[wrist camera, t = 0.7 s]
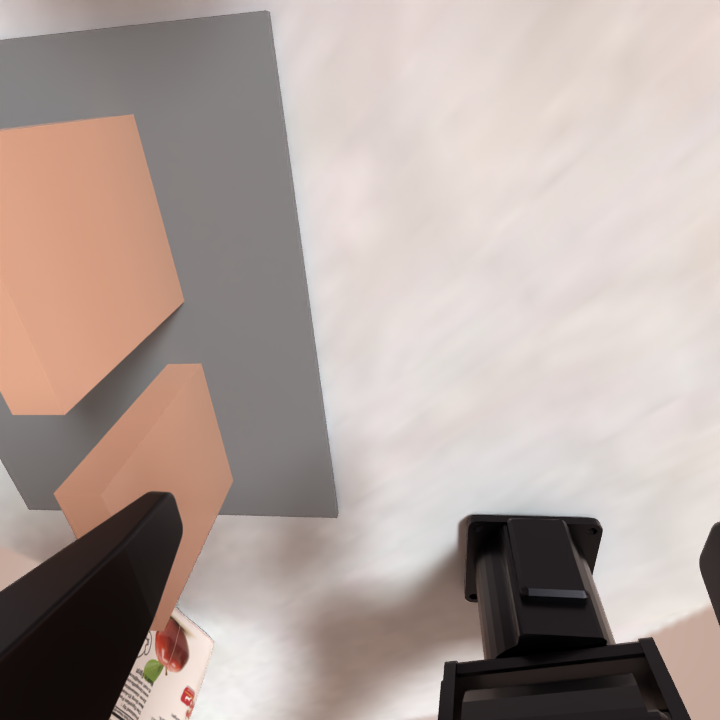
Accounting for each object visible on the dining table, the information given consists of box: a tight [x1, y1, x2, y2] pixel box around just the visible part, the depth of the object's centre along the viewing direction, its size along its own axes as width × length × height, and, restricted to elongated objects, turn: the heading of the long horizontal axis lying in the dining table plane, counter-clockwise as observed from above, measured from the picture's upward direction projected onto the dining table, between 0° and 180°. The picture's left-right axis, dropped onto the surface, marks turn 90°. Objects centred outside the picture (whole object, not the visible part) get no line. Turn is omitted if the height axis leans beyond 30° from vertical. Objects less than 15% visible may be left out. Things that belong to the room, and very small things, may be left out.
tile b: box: [0, 114, 184, 415], centre depth 15 cm, size 7×2×8 cm, turn 5°
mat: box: [0, 11, 338, 518], centre depth 22 cm, size 22×18×1 cm
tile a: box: [54, 364, 233, 631], centre depth 20 cm, size 7×2×8 cm, turn 4°
